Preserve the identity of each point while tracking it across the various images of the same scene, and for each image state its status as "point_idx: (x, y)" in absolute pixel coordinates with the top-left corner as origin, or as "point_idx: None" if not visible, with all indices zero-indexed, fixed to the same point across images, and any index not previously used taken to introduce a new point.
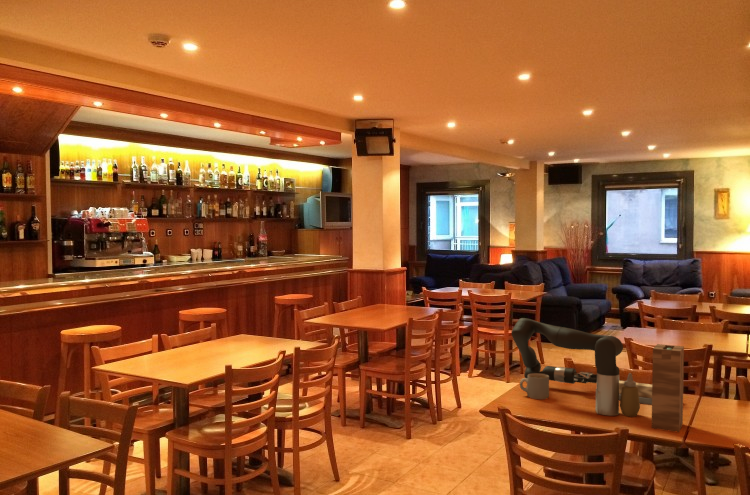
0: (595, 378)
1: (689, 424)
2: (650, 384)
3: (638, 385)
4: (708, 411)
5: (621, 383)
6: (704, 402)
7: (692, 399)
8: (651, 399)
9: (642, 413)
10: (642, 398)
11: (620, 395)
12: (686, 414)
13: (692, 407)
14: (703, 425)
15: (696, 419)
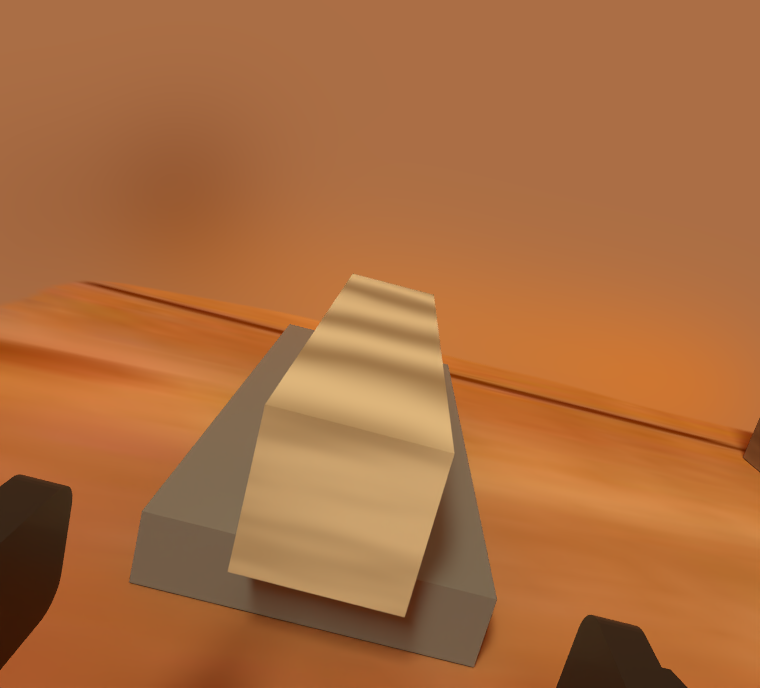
0: (624, 636)
1: (713, 441)
2: (339, 299)
3: (440, 348)
4: None
5: (446, 410)
6: (226, 309)
7: (171, 313)
8: (459, 422)
9: (757, 552)
10: (463, 453)
11: (489, 568)
12: (539, 406)
13: None
14: (670, 415)
15: (596, 406)
